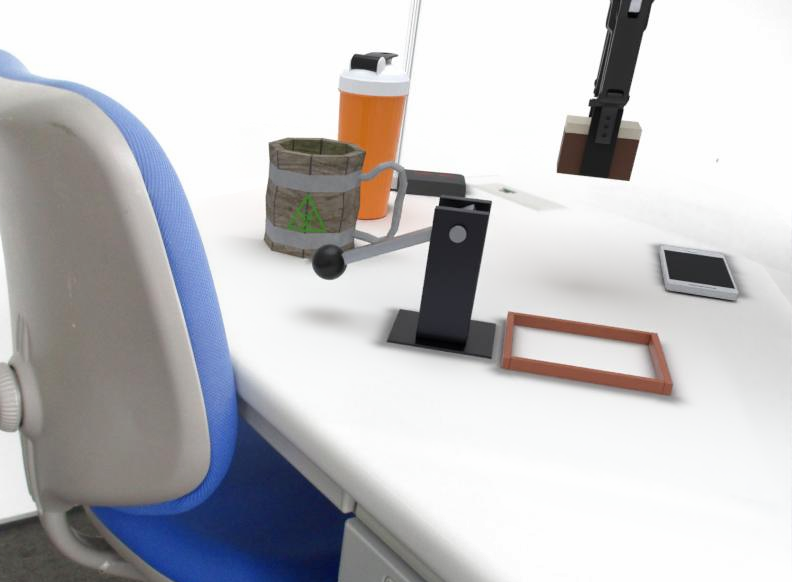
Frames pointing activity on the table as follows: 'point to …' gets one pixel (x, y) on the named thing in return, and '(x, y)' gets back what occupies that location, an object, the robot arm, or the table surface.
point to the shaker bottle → (373, 121)
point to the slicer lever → (364, 252)
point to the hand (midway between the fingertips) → (592, 169)
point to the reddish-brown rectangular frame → (580, 373)
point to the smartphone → (697, 273)
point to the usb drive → (432, 183)
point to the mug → (319, 195)
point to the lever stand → (450, 284)
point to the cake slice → (576, 142)
